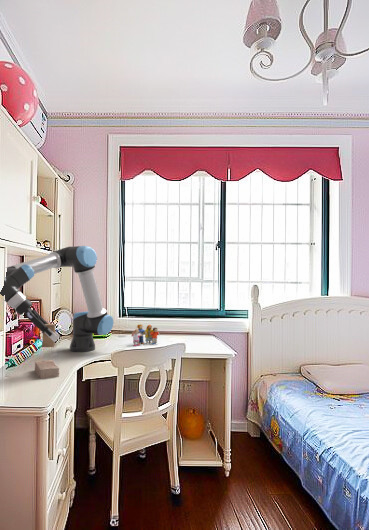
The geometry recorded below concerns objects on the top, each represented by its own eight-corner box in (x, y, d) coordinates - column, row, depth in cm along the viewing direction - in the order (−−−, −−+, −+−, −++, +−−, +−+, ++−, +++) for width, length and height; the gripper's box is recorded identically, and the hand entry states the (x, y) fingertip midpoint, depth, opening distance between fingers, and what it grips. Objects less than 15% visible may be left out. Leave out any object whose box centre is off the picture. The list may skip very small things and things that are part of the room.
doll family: (131, 346, 240) (132, 326, 240) (125, 344, 248) (126, 324, 248) (160, 343, 251) (161, 324, 252) (154, 341, 259) (154, 322, 260)
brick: (59, 377, 168) (60, 366, 168) (40, 379, 164) (40, 368, 164) (52, 369, 182) (52, 359, 182) (34, 371, 178) (34, 361, 178)
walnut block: (43, 345, 176) (44, 324, 176) (54, 345, 177) (55, 323, 177) (42, 347, 171) (42, 325, 171) (53, 347, 172) (54, 325, 172)
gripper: (18, 307, 180) (53, 341, 183) (9, 311, 162) (49, 348, 166) (30, 296, 181) (64, 330, 184) (23, 299, 164) (61, 336, 167)
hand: (57, 338), depth 175 cm, fingers closed on walnut block, 5 cm apart
